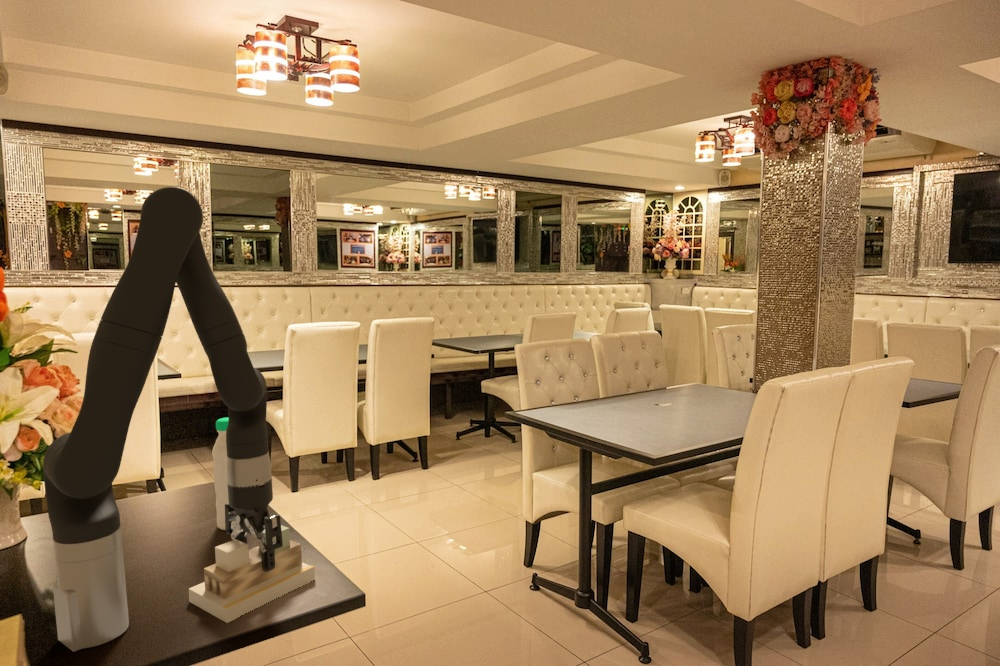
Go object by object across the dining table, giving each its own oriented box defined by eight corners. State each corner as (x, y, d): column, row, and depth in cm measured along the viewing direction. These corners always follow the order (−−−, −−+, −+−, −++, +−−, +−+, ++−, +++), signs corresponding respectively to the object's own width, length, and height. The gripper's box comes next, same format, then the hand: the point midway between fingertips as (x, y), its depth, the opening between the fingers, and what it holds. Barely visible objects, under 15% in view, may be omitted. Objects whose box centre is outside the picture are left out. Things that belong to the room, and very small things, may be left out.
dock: (227, 623, 110) (226, 608, 110) (189, 601, 117) (188, 588, 117) (315, 579, 124) (314, 566, 124) (276, 563, 131) (276, 551, 131)
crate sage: (271, 553, 121) (270, 535, 121) (259, 548, 123) (257, 530, 123) (290, 545, 124) (289, 528, 124) (277, 540, 127) (276, 523, 126)
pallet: (224, 599, 113) (222, 577, 112) (205, 589, 116) (203, 568, 116) (301, 564, 125) (300, 544, 125) (282, 556, 129) (281, 536, 129)
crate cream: (228, 571, 114) (227, 552, 114) (216, 565, 117) (214, 547, 116) (249, 563, 117) (248, 544, 117) (236, 557, 120) (235, 539, 119)
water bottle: (217, 522, 153) (210, 416, 150) (250, 517, 156) (243, 413, 153) (216, 533, 146) (208, 423, 144) (250, 528, 149) (243, 420, 146)
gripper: (208, 476, 120) (214, 561, 122) (254, 491, 111) (259, 582, 113) (245, 465, 126) (250, 546, 128) (291, 479, 117) (296, 566, 119)
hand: (255, 563), depth 121 cm, fingers open, 8 cm apart
